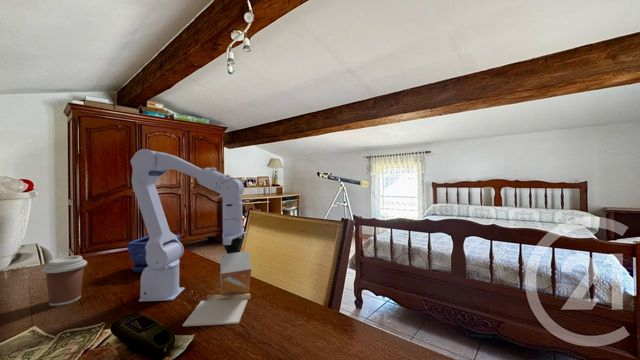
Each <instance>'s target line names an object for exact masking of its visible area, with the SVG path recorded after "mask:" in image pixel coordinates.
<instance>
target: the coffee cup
mask: <svg viewBox="0 0 640 360" xmlns="http://www.w3.org/2000/svg"><path fill="white" fill-rule="evenodd" d="M87 265H88V261H87V260H85V259H83V256H81V255H68V256H61V257H57V258H54V259H50V260H49V261H48V262H47V265H46V266H44V267H43V268H42V270H41V272H42V274H43V273H44V274H45V279H46V288H47V296H48V305H49V306H52V307H60V306H63V305H68V304H72V303H74V302H76V301H78V300H80V299H81V297H82V287H83V279H84V270H85V267H86V266H87Z"/></svg>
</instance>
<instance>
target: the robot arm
mask: <svg viewBox="0 0 640 360" xmlns="http://www.w3.org/2000/svg"><path fill="white" fill-rule="evenodd" d="M134 153H135V154H134V155H133V156H132V157H131V159H130V165H131V167H132V174H131V184H132V188H133V192H134V194H135V197H136V200H137V203H138V207H139V209H140V213H141V217H142V219H143V222H144V225H145V227H146V228H145V229H146V231H147V234H148V235H147V236H149V240H148V242H147V244H146V246H145V249H146V263H147V265H148V267H146V268H145V269H144V270H143V272H141V275H140V287H139V288H140V289H139V290H140V292H139V294H140V296H139V299H138V302H155V301H156V302H158V301H173V300H175V299H176V298H177V297H178V296H179V295H180V294H181V293H182V292H183V291H184V290H185V287H181V286H180V261H181V260H180V259H181V258H182V257H183V254H184V253H185V252H184V251H185V250H184V249H185V248H184V246H183V244H182V242H181V241H180V242H179V241H178V239H177V236H176V234H175V233H173V232H172V231H171V230H170V226H169V224H168V221H167V217H166V214H165V211H164V209H163V204H162V202H161V199H160V196H159V193H158V190H157V187H156V183H157V182H158V180H159V179H160V178H161V177H162V176H163V175H165V174H166V173H167V172H169V170H175V171H178V172H180V173H182V174H185V175H188V176H189V177H192V178H194V179H196V180H197V183H198V184H199V185H200V186H202V187H205V188H207V189H209V190H211V191H214V192H215V193H219V195H220V196H221V197H222V198H221V199H222V200H221V201H222V203H221V205H222V208H221V209H222V234H221V236H222V240H221V245H222V246H223V248H224V249H225V252H226V254H230V253H236V252H241V251H240V250H241V246H242V244H243V241H244V240H245V239H244V237H242V236H246V235H248V234H247V233H248V231H243V226H244V225H243V222H244V221H243V196H242V194H243V193H244V192H245V186H244V183H243V182H242V181H241V180H240V179H239V178H231V177H232V176H231V175H230V174H224V173H222V172H219V171H217V170H218V169H217V168H216V167H205V168H201V167H199V166H196V165H194V164H193V163H190V162H189V161H187V160H185V159H183V158H180V157H178V156H177V155H173V154H169V153H168V152H164V151H163V152H161V151H154V150H150V149H148V148H147V149H146V148H142V149H139V150H137V151H136V152H134Z"/></svg>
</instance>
